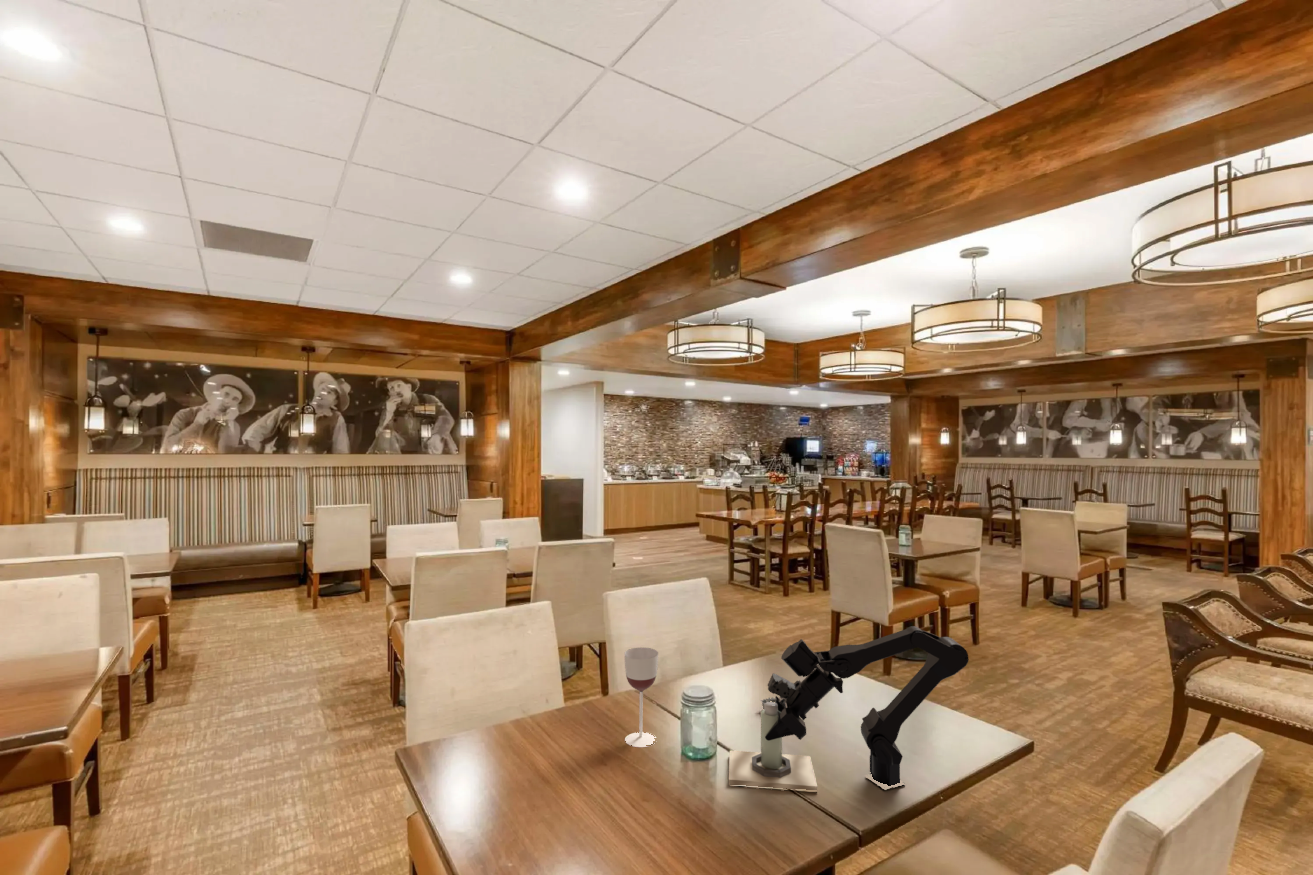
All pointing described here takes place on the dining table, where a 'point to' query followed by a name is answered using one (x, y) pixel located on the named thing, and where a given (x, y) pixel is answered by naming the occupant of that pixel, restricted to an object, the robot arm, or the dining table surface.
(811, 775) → the board
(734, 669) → the dining table surface
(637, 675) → the wineglass
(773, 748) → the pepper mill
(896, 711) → the robot arm
